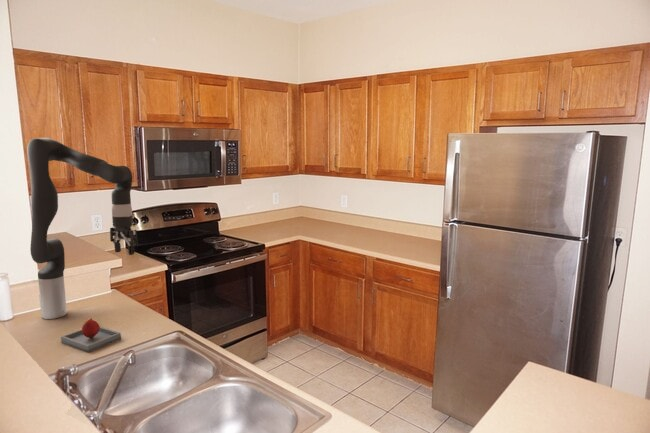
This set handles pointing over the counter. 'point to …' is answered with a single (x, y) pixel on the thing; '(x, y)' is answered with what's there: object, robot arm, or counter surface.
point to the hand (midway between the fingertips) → (124, 253)
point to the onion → (90, 328)
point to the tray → (90, 339)
